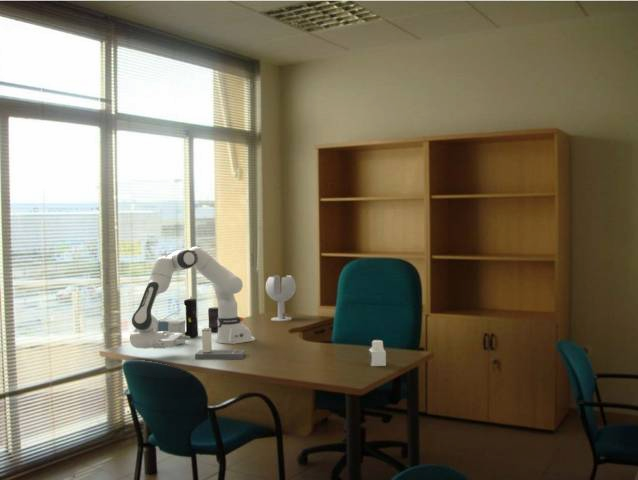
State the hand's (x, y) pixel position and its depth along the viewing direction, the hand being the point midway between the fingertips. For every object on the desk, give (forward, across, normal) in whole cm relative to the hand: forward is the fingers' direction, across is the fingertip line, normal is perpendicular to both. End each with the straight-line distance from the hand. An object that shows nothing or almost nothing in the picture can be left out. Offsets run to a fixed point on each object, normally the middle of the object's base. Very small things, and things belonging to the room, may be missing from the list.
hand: (187, 339), depth 354 cm
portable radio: (-12, +55, +9) cm, 58 cm away
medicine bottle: (+98, -18, +9) cm, 100 cm away
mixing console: (+17, 0, +9) cm, 19 cm away
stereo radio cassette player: (-22, +37, +9) cm, 44 cm away
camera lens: (-2, +73, +9) cm, 74 cm away
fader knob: (+10, 0, +6) cm, 12 cm away
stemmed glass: (+34, +118, +10) cm, 124 cm away
